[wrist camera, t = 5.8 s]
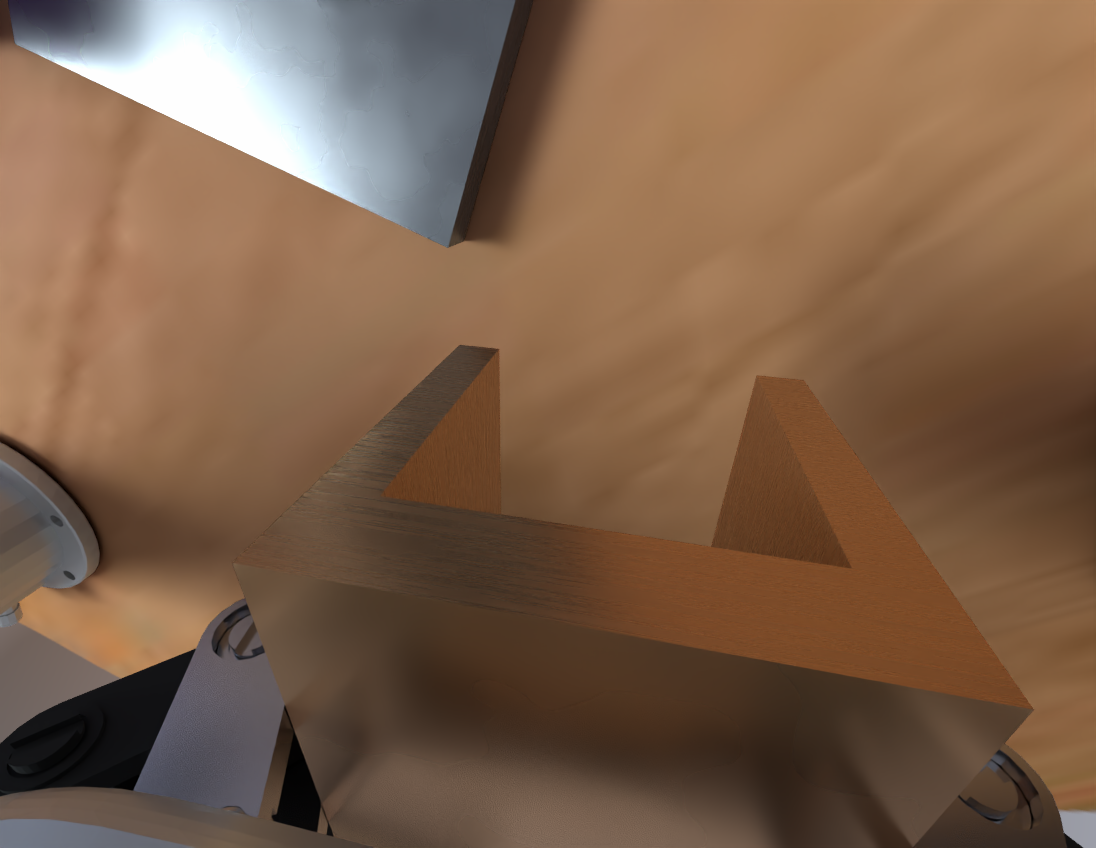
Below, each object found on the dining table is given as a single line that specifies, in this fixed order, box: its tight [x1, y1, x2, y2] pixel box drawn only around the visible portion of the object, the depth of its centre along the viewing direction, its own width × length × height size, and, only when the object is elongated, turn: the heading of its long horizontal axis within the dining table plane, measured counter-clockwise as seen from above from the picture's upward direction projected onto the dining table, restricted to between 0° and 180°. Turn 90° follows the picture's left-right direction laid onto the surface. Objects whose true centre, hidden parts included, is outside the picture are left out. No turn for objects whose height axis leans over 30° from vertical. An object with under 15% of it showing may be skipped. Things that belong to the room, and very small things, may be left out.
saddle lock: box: [232, 345, 1034, 848], centre depth 8 cm, size 7×6×6 cm
